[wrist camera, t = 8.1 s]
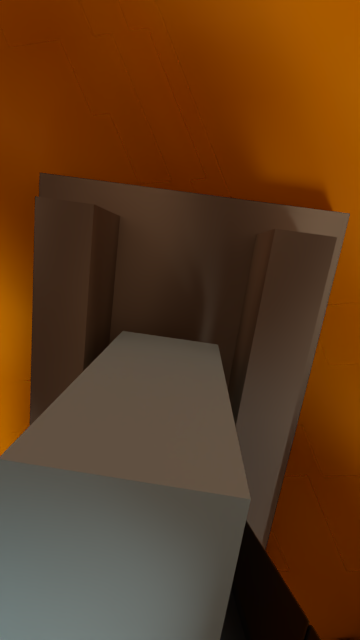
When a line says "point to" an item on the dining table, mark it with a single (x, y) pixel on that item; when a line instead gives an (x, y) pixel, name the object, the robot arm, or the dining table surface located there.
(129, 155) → the dining table surface
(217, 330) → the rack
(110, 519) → the pale grey block
